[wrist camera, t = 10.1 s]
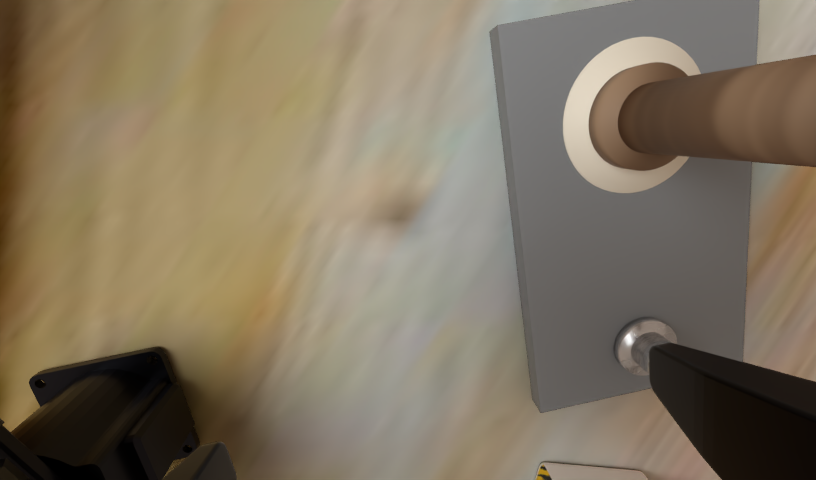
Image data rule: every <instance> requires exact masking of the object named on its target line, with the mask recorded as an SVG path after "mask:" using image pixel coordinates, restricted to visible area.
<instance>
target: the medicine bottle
mask: <svg viewBox="0 0 816 480" xmlns="http://www.w3.org/2000/svg"><path fill="white" fill-rule="evenodd" d="M535 480H648V479H647V477H646V476H645V475H644V474H643V473H642V472H641V471H637V470H625V469H614V468H603V467H592V466H581V465H570V464H559V463H547V462H543V463H541V464H540V466H539V468H538V471H537V474H536V478H535Z"/></svg>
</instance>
